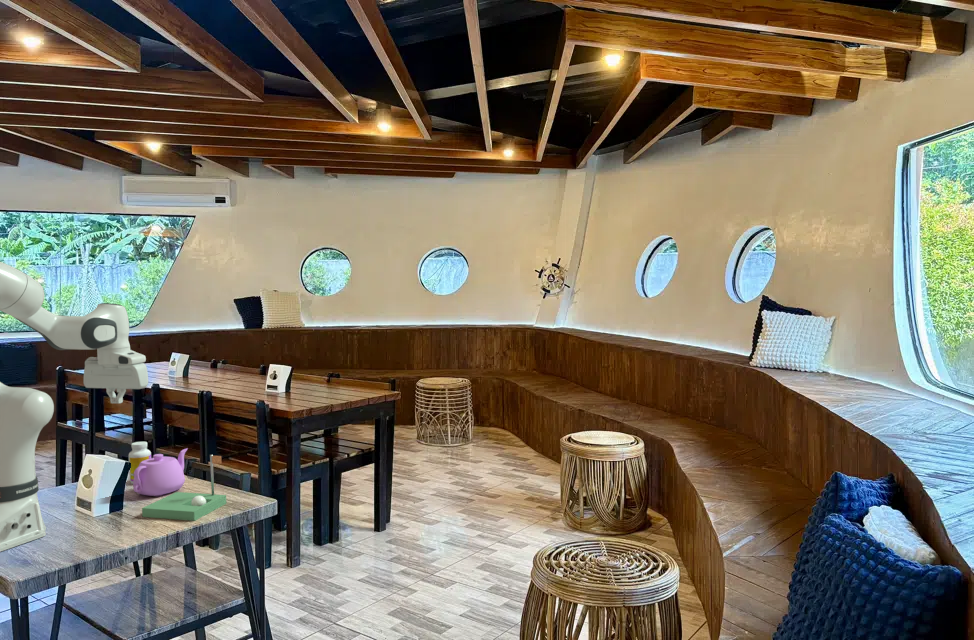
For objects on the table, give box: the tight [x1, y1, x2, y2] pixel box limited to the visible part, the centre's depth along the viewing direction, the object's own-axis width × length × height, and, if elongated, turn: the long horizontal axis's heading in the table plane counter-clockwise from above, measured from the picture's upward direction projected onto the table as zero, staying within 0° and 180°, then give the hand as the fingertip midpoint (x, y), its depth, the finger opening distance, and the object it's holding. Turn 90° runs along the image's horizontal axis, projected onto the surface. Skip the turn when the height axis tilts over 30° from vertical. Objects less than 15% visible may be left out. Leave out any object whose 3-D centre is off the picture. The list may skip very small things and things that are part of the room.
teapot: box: [132, 447, 189, 497], centre depth 228 cm, size 20×13×12 cm, turn 154°
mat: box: [141, 491, 227, 522], centre depth 210 cm, size 15×17×2 cm
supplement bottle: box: [128, 441, 152, 485], centre depth 238 cm, size 7×7×13 cm
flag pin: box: [209, 454, 222, 496], centre depth 214 cm, size 1×4×12 cm, turn 77°
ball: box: [191, 496, 206, 506], centre depth 209 cm, size 4×4×4 cm
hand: (116, 403), depth 220 cm, fingers closed
